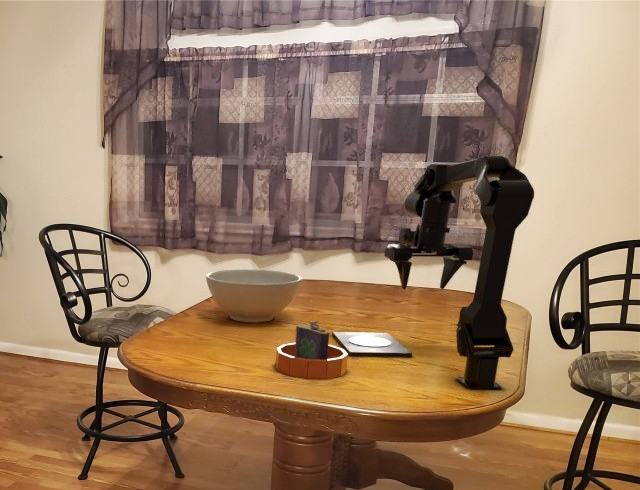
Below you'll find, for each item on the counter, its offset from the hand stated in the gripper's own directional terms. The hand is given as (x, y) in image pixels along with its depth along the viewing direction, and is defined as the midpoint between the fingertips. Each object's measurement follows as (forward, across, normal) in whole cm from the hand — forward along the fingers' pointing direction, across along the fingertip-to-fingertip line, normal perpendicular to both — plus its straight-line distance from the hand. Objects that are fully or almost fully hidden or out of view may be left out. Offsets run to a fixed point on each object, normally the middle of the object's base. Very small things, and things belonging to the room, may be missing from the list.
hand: (422, 288), depth 161 cm
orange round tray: (+13, +30, +16) cm, 37 cm away
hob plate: (+15, +10, -3) cm, 18 cm away
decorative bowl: (+18, +31, -36) cm, 51 cm away
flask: (+14, +30, +16) cm, 37 cm away
